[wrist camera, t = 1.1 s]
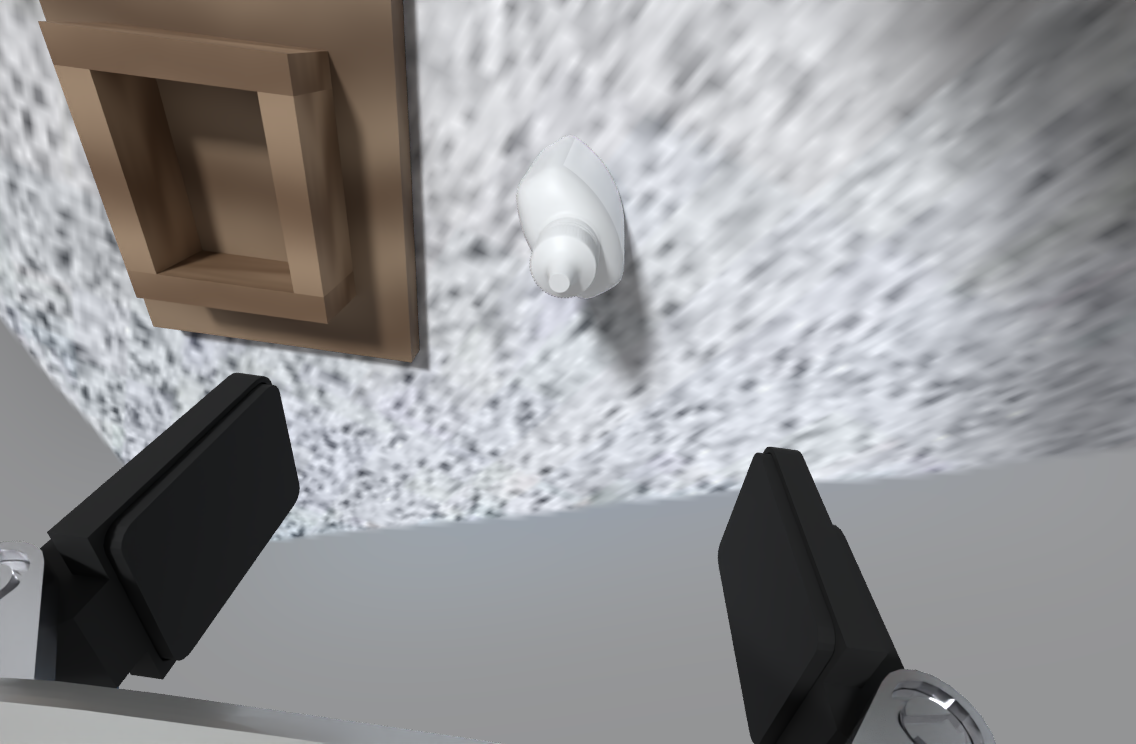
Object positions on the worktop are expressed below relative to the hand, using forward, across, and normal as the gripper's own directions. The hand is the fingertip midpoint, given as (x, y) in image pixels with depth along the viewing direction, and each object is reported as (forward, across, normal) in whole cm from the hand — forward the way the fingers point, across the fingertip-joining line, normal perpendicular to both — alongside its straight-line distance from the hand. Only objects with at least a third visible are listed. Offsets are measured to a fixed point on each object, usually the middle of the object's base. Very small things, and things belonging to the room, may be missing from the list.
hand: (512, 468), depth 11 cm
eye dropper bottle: (+21, 0, -1) cm, 21 cm away
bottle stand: (+21, +17, 0) cm, 27 cm away
